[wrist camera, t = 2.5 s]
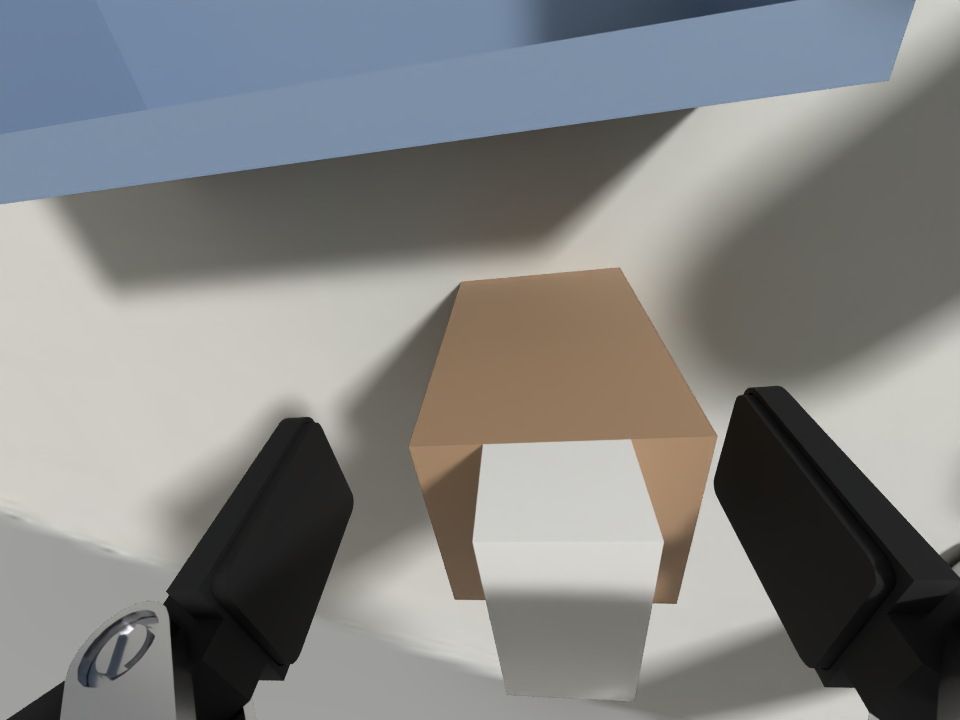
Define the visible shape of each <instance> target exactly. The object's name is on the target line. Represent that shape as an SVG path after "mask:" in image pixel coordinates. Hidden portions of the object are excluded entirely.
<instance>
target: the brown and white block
mask: <svg viewBox="0 0 960 720" xmlns="http://www.w3.org/2000/svg"><path fill="white" fill-rule="evenodd" d="M716 440H717V434H716V433H715V431H714V429H713V428H712V426H711V424H710V422H709V421H708V419H707V417H706V416H705V414H704V412H703V410H702V409H701V407H700V405H699V403H698V402H697V400H696V398H695V397H694V395H693V393H692V391H691V390H690V388H689V386H688V384H687V383H686V381H685V379H684V378H683V376H682V374H681V372H680V371H679V369H678V367H677V365H676V364H675V362H674V360H673V359H672V357H671V355H670V353H669V352H668V350H667V348H666V346H665V345H664V343H663V341H662V340H661V338H660V336H659V334H658V333H657V331H656V329H655V327H654V326H653V324H652V322H651V321H650V319H649V317H648V315H647V314H646V312H645V310H644V308H643V307H642V305H641V303H640V302H639V300H638V298H637V296H636V295H635V293H634V291H633V289H632V288H631V286H630V284H629V283H628V281H627V279H626V277H625V276H624V274H623V272H622V270H621V269H620V268H609V269H598V270H587V271H576V272H565V273H554V274H542V275H531V276H520V277H509V278H498V279H487V280H476V281H465V282H461V284H460V287H459V290H458V293H457V297H456V300H455V303H454V306H453V309H452V312H451V315H450V319H449V322H448V325H447V328H446V331H445V334H444V337H443V340H442V344H441V347H440V350H439V353H438V356H437V359H436V362H435V366H434V369H433V372H432V375H431V378H430V381H429V384H428V388H427V391H426V394H425V397H424V400H423V403H422V406H421V409H420V413H419V416H418V419H417V422H416V425H415V428H414V431H413V435H412V438H411V441H410V444H409V450H410V453H411V456H412V460H413V463H414V466H415V470H416V473H417V476H418V480H419V483H420V486H421V490H422V493H423V496H424V499H425V503H426V506H427V509H428V513H429V516H430V519H431V523H432V526H433V529H434V532H435V536H436V539H437V542H438V546H439V549H440V552H441V556H442V559H443V562H444V566H445V569H446V572H447V575H448V579H449V582H450V585H451V589H452V592H453V595H454V599H456V600H486V604H487V608H488V613H489V617H490V621H491V626H492V630H493V635H494V639H495V643H496V648H497V652H498V657H499V661H500V665H501V670H502V674H503V679H504V683H505V688H506V692H507V695H514V696H532V697H552V698H571V699H591V700H611V701H630V702H634V701H635V695H636V690H637V685H638V679H639V674H640V668H641V663H642V658H643V652H644V647H645V641H646V636H647V630H648V625H649V620H650V614H651V609H652V603H666V604H677V600H678V596H679V592H680V588H681V583H682V579H683V575H684V571H685V567H686V563H687V559H688V555H689V551H690V547H691V543H692V539H693V534H694V530H695V526H696V522H697V518H698V514H699V510H700V506H701V502H702V498H703V494H704V490H705V485H706V481H707V477H708V473H709V469H710V465H711V461H712V457H713V453H714V449H715V445H716Z"/></svg>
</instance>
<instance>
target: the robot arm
mask: <svg viewBox="0 0 960 720" xmlns="http://www.w3.org/2000/svg"><path fill="white" fill-rule="evenodd" d="M714 490H715V493H716V496H717V498H718V500H719V502H720V504H721V506H722V508H723V509H724V511H725V513H726V515H727V517H728V519H729V521H730V523H731V525H732V527H733V529H734V531H735V533H736V535H737V537H738V538H739V540H740V542H741V544H742V546H743V548H744V550H745V552H746V554H747V556H748V558H749V560H750V562H751V564H752V566H753V567H754V569H755V571H756V573H757V575H758V577H759V579H760V581H761V583H762V585H763V587H764V589H765V591H766V593H767V595H768V596H769V598H770V600H771V602H772V604H773V606H774V608H775V610H776V612H777V614H778V616H779V618H780V620H781V622H782V624H783V625H784V627H785V629H786V631H787V633H788V635H789V637H790V639H791V641H792V643H793V645H794V647H795V649H796V651H797V653H798V654H799V656H800V658H801V659H802V661H803V662H804V663H805V664H806V665H807V666H808V667H810V668H815V670H816V672H817V674H818V675H819V677H820V679H821V681H822V683H823V685H824V687H843V688H855V689H856V690H857V692H858V694H859V696H860V697H861V699H862V701H863V702H864V704H865V706H866V708H867V709H868V711H869V715H868V720H960V561H959V562H958V563H956V564H955V565H954V566H953V567H952V568H951V567H950V566H949V565H948V564H947V563H946V562H945V561H944V560H943V559H942V558H941V557H940V555H939V554H938V553H937V552H936V551H935V550H934V549H933V548H932V547H931V546H930V545H929V544H928V543H927V541H926V540H925V539H924V538H923V537H922V536H921V535H920V534H919V533H918V532H917V531H916V530H915V529H914V527H913V526H912V525H911V524H910V523H909V522H908V521H907V520H906V519H905V518H904V517H903V516H902V515H901V513H900V512H899V511H898V510H897V509H896V508H895V507H894V506H893V505H892V504H891V503H890V502H889V501H888V499H887V498H886V497H885V496H884V495H883V494H882V493H881V492H880V491H879V490H878V489H877V488H876V487H875V485H874V484H873V483H872V482H871V481H870V480H869V479H868V478H867V477H866V476H865V475H864V474H863V473H862V471H861V470H860V469H859V468H858V467H857V466H856V465H855V464H854V463H853V462H852V461H851V460H850V459H849V457H848V456H847V455H846V454H845V453H844V452H843V451H842V450H841V449H840V448H839V447H838V446H837V445H836V443H835V442H834V441H833V440H832V439H831V438H830V437H829V436H828V435H827V434H826V433H825V432H824V431H823V429H822V428H821V427H820V426H819V425H818V424H817V423H816V422H815V421H814V420H813V419H812V418H811V417H810V415H809V414H808V413H807V412H806V411H805V410H804V409H803V408H802V407H801V406H800V405H799V404H798V403H797V401H796V400H795V399H794V398H793V397H792V396H791V395H790V394H789V393H788V392H787V391H786V390H785V389H784V388H783V387H780V386H769V387H754V388H748V389H747V390H746V391H745V392H744V395H740V396H738V397H737V398H736V401H735V404H734V408H733V411H732V415H731V419H730V422H729V426H728V430H727V433H726V437H725V441H724V444H723V448H722V452H721V455H720V459H719V463H718V466H717V470H716V474H715V477H714ZM352 509H353V495H352V492H351V490H350V488H349V486H348V484H347V482H346V479H345V477H344V475H343V473H342V471H341V468H340V466H339V464H338V462H337V460H336V458H335V455H334V453H333V451H332V449H331V447H330V444H329V442H328V440H327V438H326V436H325V434H324V431H323V429H322V427H321V425H320V424H319V423H315V422H314V421H313V419H312V418H310V417H300V418H286V419H284V420H282V421H281V422H280V423H279V425H278V426H277V428H276V429H275V431H274V432H273V434H272V435H271V437H270V438H269V440H268V441H267V443H266V444H265V446H264V447H263V449H262V450H261V452H260V453H259V455H258V456H257V458H256V459H255V461H254V462H253V464H252V465H251V466H250V468H249V469H248V471H247V472H246V474H245V475H244V477H243V478H242V480H241V481H240V483H239V484H238V486H237V487H236V489H235V490H234V492H233V493H232V495H231V496H230V498H229V499H228V501H227V502H226V504H225V505H224V506H223V508H222V509H221V511H220V512H219V514H218V515H217V517H216V518H215V520H214V521H213V523H212V524H211V526H210V527H209V529H208V530H207V532H206V533H205V535H204V536H203V538H202V539H201V541H200V542H199V544H198V545H197V547H196V548H195V549H194V551H193V552H192V554H191V555H190V557H189V558H188V560H187V561H186V563H185V564H184V566H183V567H182V569H181V570H180V572H179V573H178V575H177V576H176V578H175V579H174V581H173V582H172V584H171V585H170V587H169V588H168V589H167V591H166V592H167V593H168V594H169V596H168V598H167V599H166V601H165V602H164V604H161V603H160V602H155V601H146V602H142V603H137V604H134V605H132V606H130V607H128V608H126V609H124V610H122V611H120V612H118V613H117V614H116V615H114V616H113V617H111V618H110V619H108V620H107V621H106V622H104V623H103V624H102V625H101V626H100V627H99V628H98V629H97V630H96V631H95V632H94V633H92V634H91V635H90V637H89V638H88V639H87V640H86V642H85V643H84V644H83V645H82V646H81V647H80V649H79V650H78V652H77V654H76V655H75V657H74V659H73V660H72V662H71V664H70V666H69V669H68V672H67V676H66V679H65V681H63V682H62V683H60V684H59V685H58V686H56V687H55V688H53V689H51V690H50V691H49V692H47V693H46V694H44V695H43V696H41V697H40V698H38V699H37V700H35V701H34V702H32V703H31V704H29V705H28V706H26V707H25V708H23V709H22V710H20V711H19V712H17V713H16V714H14V715H13V716H12V717H10V718H9V719H7V720H257V719H256V714H255V710H254V705H253V700H252V695H253V693H254V690H255V688H256V685H257V683H258V681H259V680H280V681H284V679H285V676H286V674H287V671H288V668H289V666H290V664H293V663H294V662H295V661H296V660H297V659H298V657H299V655H300V652H301V650H302V647H303V644H304V642H305V639H306V636H307V633H308V631H309V628H310V625H311V623H312V620H313V617H314V614H315V612H316V609H317V606H318V603H319V601H320V598H321V595H322V592H323V590H324V587H325V584H326V581H327V579H328V576H329V573H330V570H331V568H332V565H333V562H334V559H335V557H336V554H337V551H338V548H339V546H340V543H341V540H342V537H343V535H344V532H345V529H346V526H347V524H348V521H349V518H350V515H351V512H352Z"/></svg>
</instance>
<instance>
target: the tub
mask: <svg viewBox="0 0 960 720" xmlns="http://www.w3.org/2000/svg"><path fill="white" fill-rule="evenodd" d="M915 1H916V0H0V204H6V203H13V202H20V201H28V200H35V199H42V198H49V197H56V196H63V195H71V194H78V193H85V192H92V191H99V190H107V189H114V188H121V187H128V186H135V185H142V184H150V183H157V182H164V181H171V180H178V179H185V178H193V177H200V176H207V175H214V174H221V173H228V172H236V171H243V170H250V169H257V168H264V167H272V166H279V165H286V164H293V163H300V162H307V161H315V160H322V159H329V158H336V157H343V156H350V155H358V154H365V153H372V152H379V151H386V150H393V149H401V148H408V147H415V146H422V145H429V144H436V143H444V142H451V141H458V140H465V139H472V138H480V137H487V136H494V135H501V134H508V133H515V132H523V131H530V130H537V129H544V128H551V127H558V126H566V125H573V124H580V123H587V122H594V121H601V120H609V119H616V118H623V117H630V116H637V115H645V114H652V113H659V112H666V111H673V110H680V109H688V108H695V107H702V106H709V105H716V104H723V103H731V102H738V101H745V100H752V99H759V98H766V97H774V96H781V95H788V94H795V93H802V92H810V91H817V90H824V89H831V88H838V87H845V86H853V85H860V84H867V83H874V82H881V81H888V80H889V78H890V75H891V72H892V69H893V66H894V63H895V60H896V57H897V54H898V51H899V48H900V45H901V43H902V40H903V37H904V34H905V31H906V28H907V25H908V22H909V19H910V16H911V13H912V10H913V7H914V4H915Z"/></svg>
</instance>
